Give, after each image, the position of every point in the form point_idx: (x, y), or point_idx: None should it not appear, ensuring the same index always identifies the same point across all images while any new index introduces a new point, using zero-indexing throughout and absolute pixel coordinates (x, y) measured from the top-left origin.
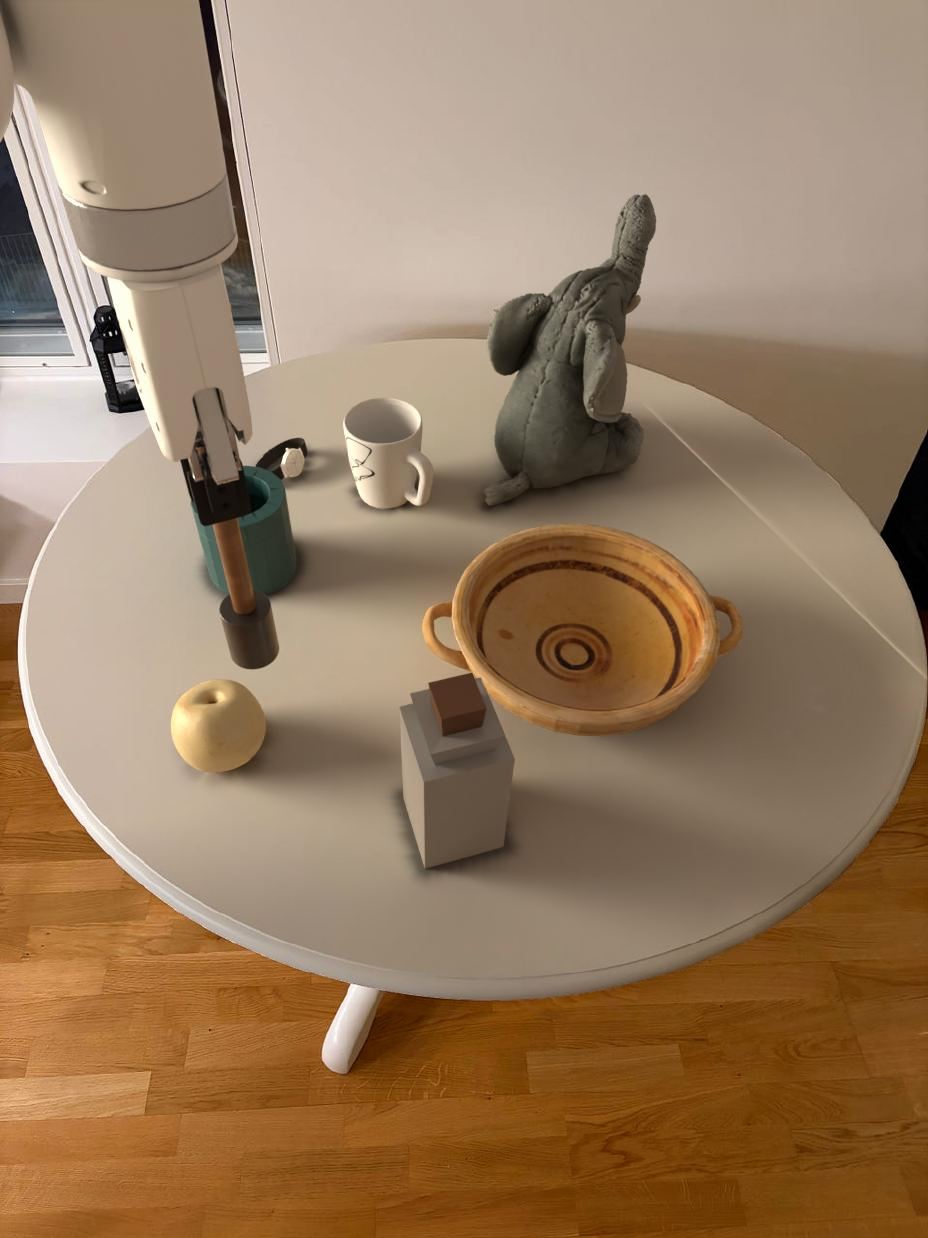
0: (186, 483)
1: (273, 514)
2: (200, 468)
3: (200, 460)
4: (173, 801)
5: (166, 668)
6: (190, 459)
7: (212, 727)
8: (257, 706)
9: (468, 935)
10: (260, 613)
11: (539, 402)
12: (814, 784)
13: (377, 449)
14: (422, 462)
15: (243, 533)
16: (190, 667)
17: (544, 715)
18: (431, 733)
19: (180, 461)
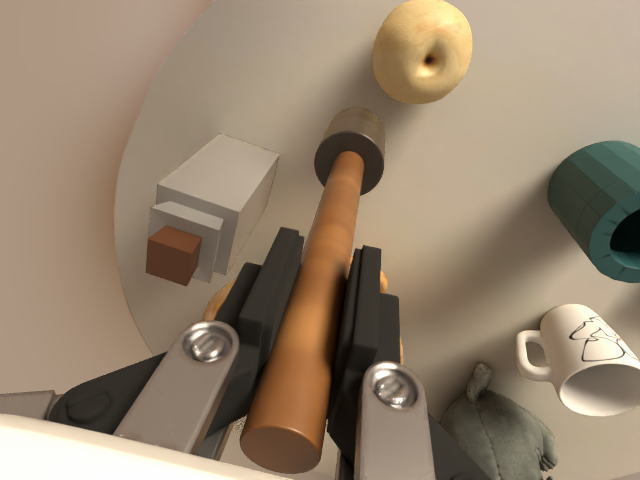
0: (368, 272)
1: (587, 249)
2: (99, 389)
3: (78, 420)
4: None
5: (555, 39)
6: (139, 394)
7: (394, 44)
8: (401, 100)
9: (163, 129)
10: (325, 176)
11: (492, 471)
12: (173, 339)
13: (576, 364)
14: (531, 374)
15: (598, 209)
16: (534, 64)
17: (235, 279)
18: (171, 220)
19: (372, 316)
